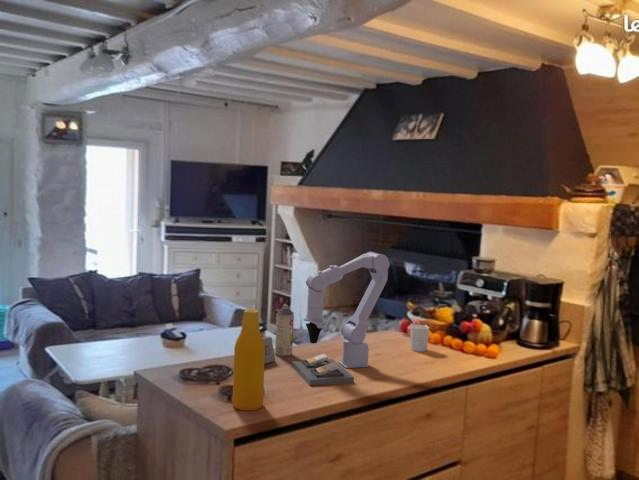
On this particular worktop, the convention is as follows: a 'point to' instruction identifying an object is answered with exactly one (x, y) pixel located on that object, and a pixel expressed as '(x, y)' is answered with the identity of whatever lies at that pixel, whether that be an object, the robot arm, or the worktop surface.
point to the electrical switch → (269, 350)
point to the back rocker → (317, 359)
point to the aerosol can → (284, 332)
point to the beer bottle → (249, 364)
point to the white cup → (419, 337)
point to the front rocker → (327, 368)
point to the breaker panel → (314, 378)
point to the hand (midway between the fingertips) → (313, 342)
